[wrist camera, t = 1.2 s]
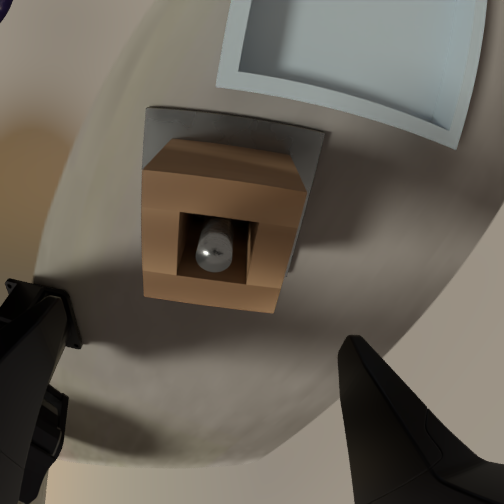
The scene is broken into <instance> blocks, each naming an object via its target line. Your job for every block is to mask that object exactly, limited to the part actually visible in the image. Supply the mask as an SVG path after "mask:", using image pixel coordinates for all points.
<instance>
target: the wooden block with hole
mask: <svg viewBox="0 0 504 504" xmlns="http://www.w3.org/2000/svg"><path fill="white" fill-rule="evenodd" d="M306 196H307V191H306V188H305V186H304V184H303V182H302V180H301V177H300V175H299V173H298V171H297V169H296V167H295V165H294V162H293V160H292V158H291V156H290V155H286V154H281V153H275V152H269V151H264V150H257V149H251V148H245V147H238V146H231V145H224V144H216V143H208V142H200V141H191V140H181V139H171V140H170V141H169V142H168V143H167V144H166V145H165V146H164V147H163V148H162V149H161V150H160V151H159V152H158V153H157V155H156V156H155V157H154V158H153V159H152V160H151V161H150V162H149V163H148V164H147V165H146V166H145V167H144V169H143V170H142V207H141V227H142V268H143V288H144V297H150V298H157V299H164V300H170V301H177V302H184V303H191V304H199V305H206V306H214V307H222V308H230V309H238V310H247V311H256V312H266V313H274V310H275V307H276V303H277V300H278V296H279V293H280V290H281V286H282V283H283V279H284V276H285V272H286V269H287V265H288V262H289V258H290V255H291V251H292V248H293V244H294V240H295V237H296V233H297V229H298V226H299V222H300V218H301V215H302V211H303V207H304V203H305V200H306ZM193 213H194V214H201V215H209V216H216V217H224V218H231V219H238V220H245V221H247V226H246V228H245V227H238V226H234V236H233V252H232V262H231V264H230V266H229V267H228V268H227V269H225V270H223V271H221V272H209V271H206V270H204V269H203V268H201V267H200V266H199V264H198V263H197V261H196V251H197V247H198V243H199V239H200V235H201V230H202V226H203V222H201V221H193Z"/></svg>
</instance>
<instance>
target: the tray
mask: <svg viewBox="0 0 504 504" xmlns="http://www.w3.org/2000/svg"><path fill="white" fill-rule="evenodd" d="M486 7H487V0H231V4H230V9H229V14H228V19H227V24H226V30H225V35H224V40H223V46H222V51H221V57H220V63H219V69H218V75H217V81H216V87H219V88H227V89H234V90H241V91H248V92H255V93H261V94H266V95H272V96H277V97H283V98H288V99H293V100H297V101H302V102H307V103H311V104H315V105H320V106H324V107H328V108H332V109H336V110H340V111H343V112H347V113H351V114H354V115H358V116H361V117H365V118H368V119H372V120H375V121H378V122H381V123H384V124H387V125H390V126H394V127H396V128H399V129H402V130H405V131H408V132H411V133H414V134H416V135H419V136H422V137H424V138H427V139H430V140H432V141H435V142H437V143H440V144H442V145H445V146H447V147H450V148H452V149H454V150H456V149H457V146H458V143H459V139H460V136H461V133H462V129H463V126H464V122H465V119H466V115H467V111H468V107H469V103H470V99H471V95H472V91H473V87H474V82H475V78H476V73H477V68H478V63H479V57H480V52H481V46H482V39H483V33H484V25H485V17H486Z"/></svg>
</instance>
